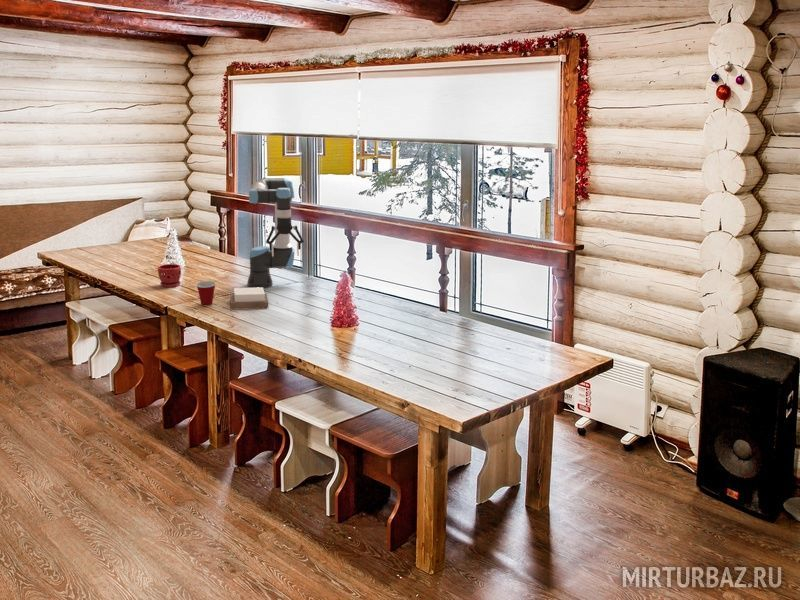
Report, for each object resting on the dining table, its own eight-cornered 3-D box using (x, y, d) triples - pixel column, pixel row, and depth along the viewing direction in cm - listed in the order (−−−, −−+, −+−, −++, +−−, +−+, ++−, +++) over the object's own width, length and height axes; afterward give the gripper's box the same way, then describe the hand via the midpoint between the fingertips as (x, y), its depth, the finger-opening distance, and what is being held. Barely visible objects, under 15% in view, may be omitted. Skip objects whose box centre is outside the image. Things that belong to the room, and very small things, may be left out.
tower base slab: (230, 301, 452) (230, 294, 451) (266, 300, 456) (266, 293, 455) (230, 310, 433) (230, 303, 432) (268, 309, 437) (268, 302, 436)
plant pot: (159, 283, 486) (158, 264, 483) (182, 283, 488) (181, 263, 485) (157, 288, 474) (156, 268, 471) (180, 288, 476) (179, 268, 473)
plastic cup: (192, 305, 437) (191, 284, 434) (202, 301, 447) (202, 280, 444) (210, 307, 434) (209, 286, 431) (220, 303, 444) (219, 282, 441)
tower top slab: (234, 295, 449) (233, 288, 448) (263, 294, 453) (262, 287, 452) (234, 302, 434) (234, 294, 433) (264, 301, 437) (264, 294, 437)
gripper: (260, 218, 426) (262, 257, 432) (307, 217, 430) (308, 256, 435) (260, 216, 433) (262, 254, 439) (307, 215, 437) (308, 253, 442)
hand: (285, 255), depth 437 cm, fingers open, 13 cm apart
